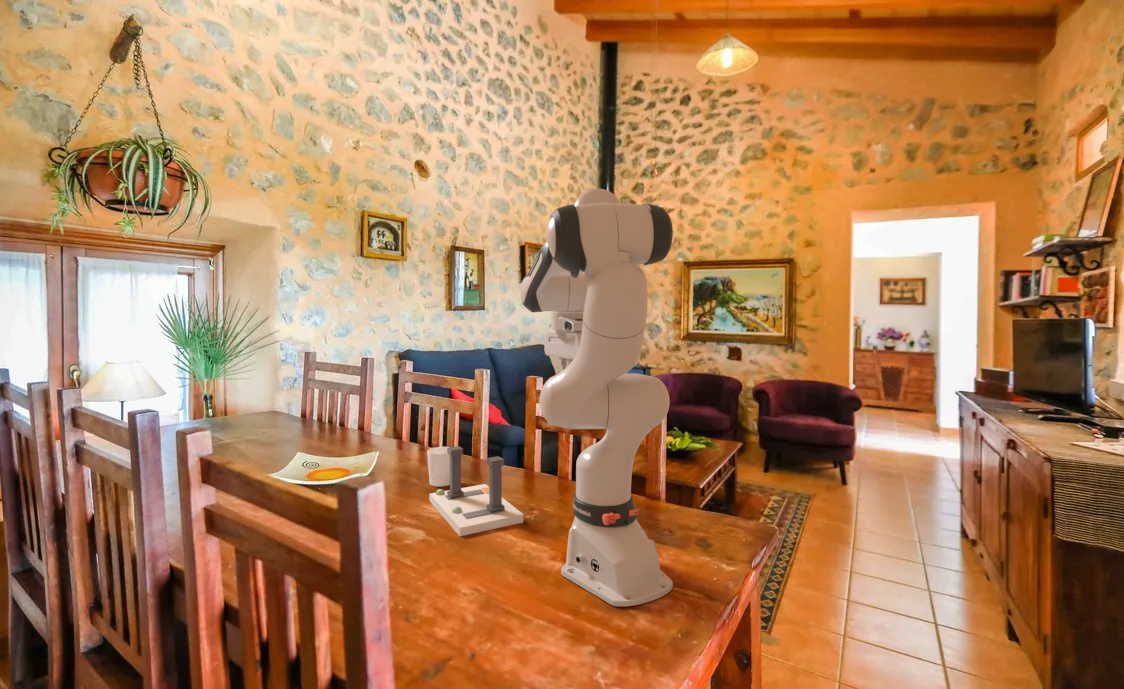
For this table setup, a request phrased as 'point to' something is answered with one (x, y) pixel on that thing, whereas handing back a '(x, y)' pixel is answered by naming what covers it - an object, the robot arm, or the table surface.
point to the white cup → (439, 466)
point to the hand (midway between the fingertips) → (567, 375)
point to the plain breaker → (495, 483)
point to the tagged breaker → (455, 471)
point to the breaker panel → (473, 510)
